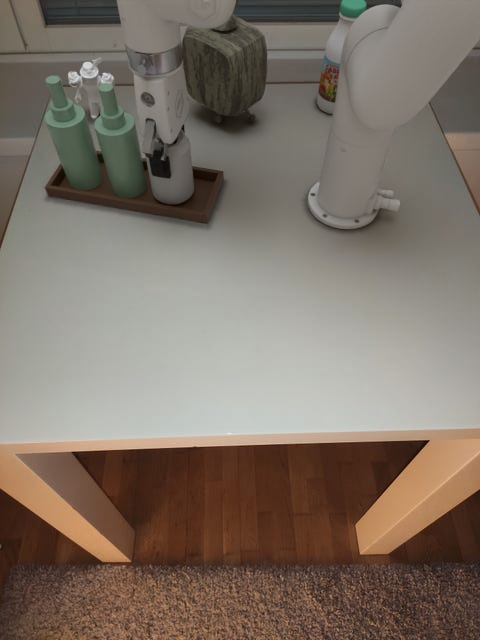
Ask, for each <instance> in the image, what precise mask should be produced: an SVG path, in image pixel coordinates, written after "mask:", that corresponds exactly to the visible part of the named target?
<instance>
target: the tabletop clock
mask: <svg viewBox="0 0 480 640" xmlns="http://www.w3.org/2000/svg"><path fill="white" fill-rule="evenodd" d="M239 1H240V0H236V4H235V8H234V10H235V9H237V8H238V5H239ZM181 43H182V54H183V67H184V73H185V79H186V86H187V94H188V96H190V98H192V99H193V100H194V101H196V102H197V103H199V104H201V105H202V106H204V107H206V108H207V109H209V110H210V111H213V112H215V113H216V114H215V115H214V116H213V121H214V122H215V123H216V124H219V123H221V122H222V116H230V117H239V115H241V114H243V113H244V112H245V113H246V114H247V116H248V117H247V120H248V121H249V122H250V123H254V122H255V121H256V120H257V116H256V114H254V113H251V112H250V110H249V109H250V108H252V107H253V106H254V105H255V104H257V103H258V102H260V101H261V100H262V99H263V96H264V94H265V90H266V84H267V78H268V47H267V41H266V36H265V35H264V33H263V32H262V31H261V30H260V29H259V28H258V27H256V25H253V24H252V23H250V22H248V21H246V20H244V19H242V18H240V17H238V16H236V14H235V13H234V12H233V13H232V15H231V16H230V18H229V19H228V20H227V21H226V22H225V23H224V24H223V25H221V26H219V27H216V28H211V29H203V28H197V27H192V26H187V27H186V29H185V32H184V34H183V37H182V40H181ZM221 115H222V116H221Z"/></svg>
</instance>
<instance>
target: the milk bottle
mask: <svg viewBox="0 0 480 640" xmlns="http://www.w3.org/2000/svg"><path fill="white" fill-rule="evenodd" d="M366 10H367V2H366V1H365V0H341V1H340V5H339V12H338V15H339V19H338V22H337V23H336V25H335V28H334V29H333V31H332V32H331V34H330V35H329V38H328V39H327V42H326V45H325V49H324V54H323V60H322V67H321V71H320V78H319V84H318V89H317V90H318V91H317V97H316V104H317V107H318V108H319V109H320V110H321V111H322V112H324V113H326V114H330V115H333V111H334V106H335V100H336V93H337V86H338V78H339V69H340V61H341V54H342V48H343V44H344V41H345V38H346V35H347V33H348V31H349V29H350V27H351V25H352V24H353V23H354V21H355V20H356V19H357V18H358V17H359V16H360V15H361V14H362V13H363V12H365V11H366Z"/></svg>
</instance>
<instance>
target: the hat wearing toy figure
mask: <svg viewBox="0 0 480 640" xmlns="http://www.w3.org/2000/svg"><path fill="white" fill-rule="evenodd" d="M102 59H103V57H102V56H101V57H100V56H99V57H98V58H96V59H92V60H91V61H92V62H91V61H85V62H83V63H82V66H81V68H80V70H79V74H80V75H79V74H78V72H77V71H74V70H70V71H68V73H67V79H68V85H70V87H72V88H74V89H76V93H75V97H74V101H75V102H76V104H78V103H80V101H81V100H82V96H83V95H82V93H83V92H84V91H85V92H86V94H87V101H88V108H89V113H90V117H91V118H92V119H97V118H98V117H99V116H100V115H99V114H100V112H99V110H100V111H101V109H102V108H103V104H102V100H101V97H100V93H99V89H98V88H99V86H100V85H101V84H103V83H110V84H112V85H113V87H114V88H115V87H116V86H115V77H114V75H112V74H111V73H110V72H108V73H107V72H105V71H104V72H103V73H102V74H101V75H102V76H101V75H100V74H99V68H98V66H99V65H98V64H101V63H102V62H103V60H102ZM73 84H74V85H73ZM75 84H77V85H75ZM97 105H98V107H99V110H98V109H97Z"/></svg>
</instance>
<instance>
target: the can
mask: <svg viewBox="0 0 480 640" xmlns="http://www.w3.org/2000/svg"><path fill="white" fill-rule="evenodd" d="M155 137H160V136H159V134H158V133H156V135H155ZM176 140H177V142H176V143H175V144H174V145H173V143H172V144H168V143H167V153H166V156H168V157H169V161H170V168H171V178H170V179H167V178H161V177H155V176H153V175H152V173H151V168H150V162H149V158H147V157H146V155H145V154H144V155H145V158H146V161H147V166H148V172H149V177H150V182H151V187H152V192H153V195H154V197H155V198H156V199H157V200H159V201H160V202H163V203H166V204H172V205H175V204H180V203H182V202H184V201H186V200H187V199H189V198H190V197H191V196H192V194H193V192H194V181H193V170H192V166H193V161H192V160H193V159H192V151H191V150H192V148H191V142H190V138H188V136H187V135H186V132H185V133H184V131H183V130H182V129H181V130H180V132H179V134H178V136H177V138H176ZM154 148H155V150H159V151H161V143H159V142H154Z"/></svg>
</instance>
